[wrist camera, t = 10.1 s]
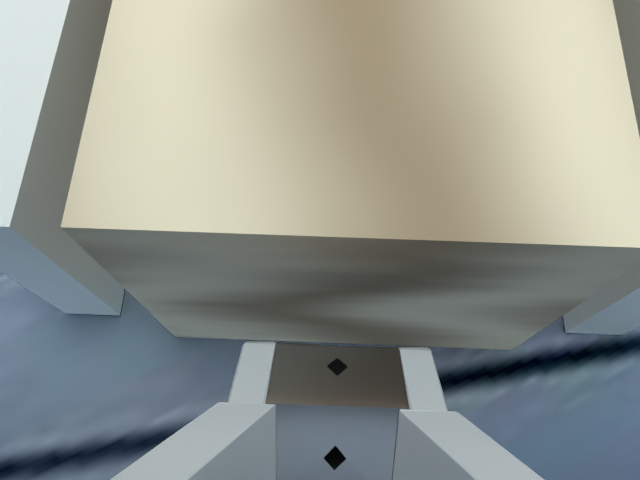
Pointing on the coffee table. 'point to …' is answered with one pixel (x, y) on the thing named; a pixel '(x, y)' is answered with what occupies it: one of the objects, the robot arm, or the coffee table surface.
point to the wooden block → (360, 167)
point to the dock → (63, 143)
